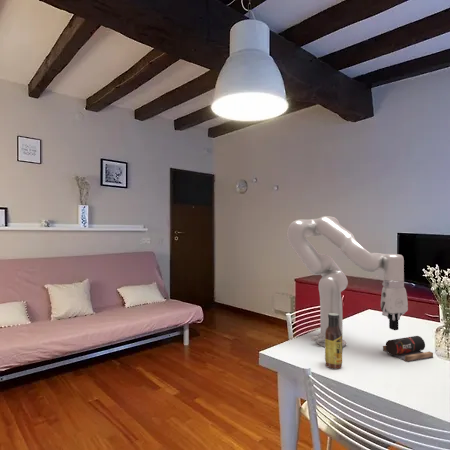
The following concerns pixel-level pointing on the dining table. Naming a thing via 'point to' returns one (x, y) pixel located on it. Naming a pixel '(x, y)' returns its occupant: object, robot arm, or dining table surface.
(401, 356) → the mat
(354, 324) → the dining table surface
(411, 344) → the deodorant
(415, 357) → the side rails
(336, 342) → the sauce bottle
